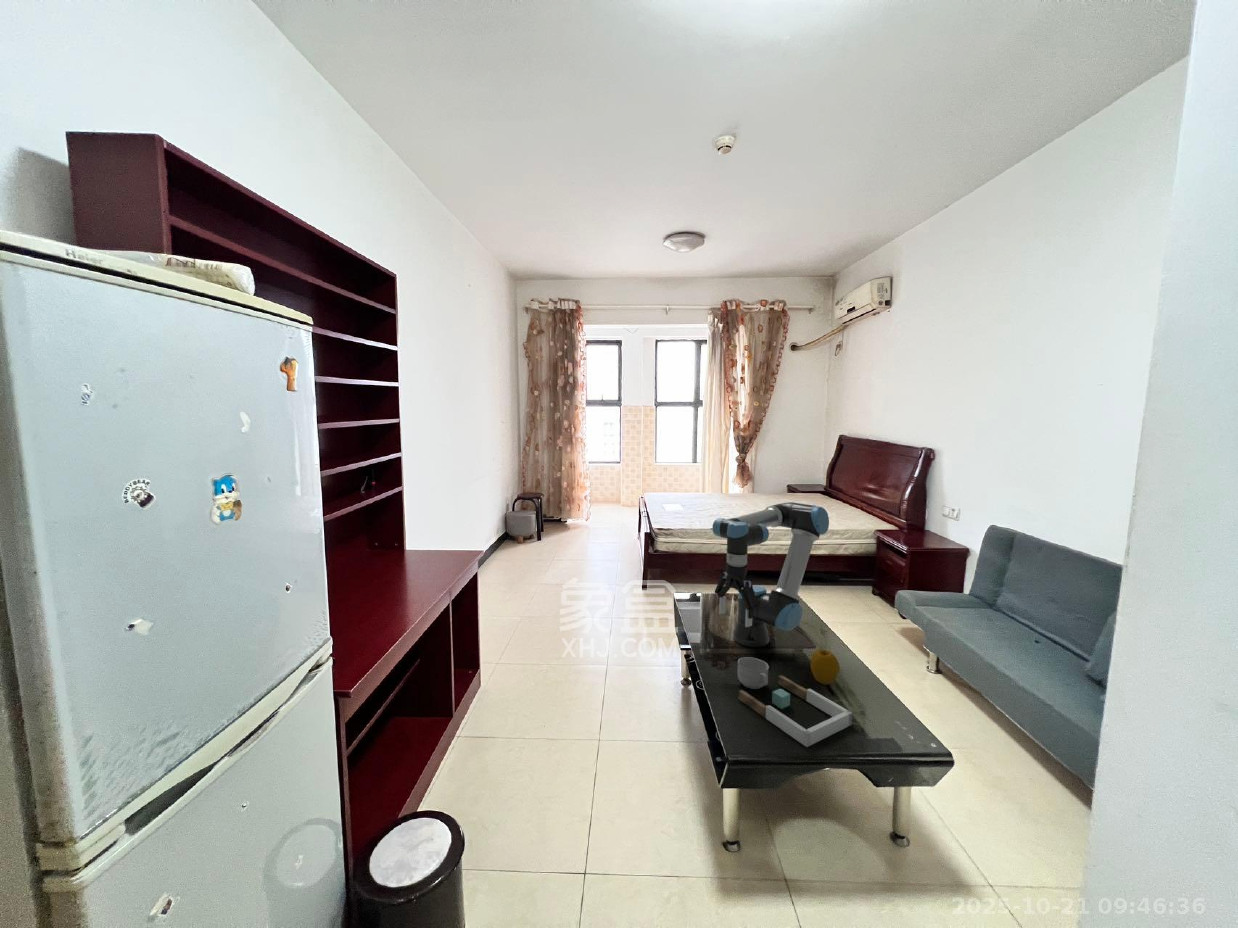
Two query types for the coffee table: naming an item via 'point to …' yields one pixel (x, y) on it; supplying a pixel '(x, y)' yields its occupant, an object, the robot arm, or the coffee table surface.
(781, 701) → the block
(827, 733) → the grey u-shaped frame
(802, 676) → the coffee table surface
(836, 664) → the apple
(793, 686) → the slot rails
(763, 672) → the teacup
